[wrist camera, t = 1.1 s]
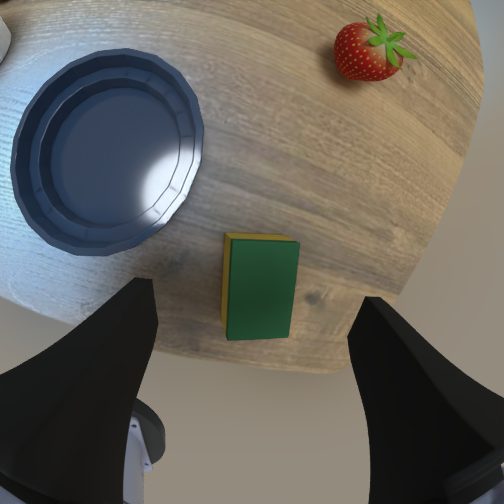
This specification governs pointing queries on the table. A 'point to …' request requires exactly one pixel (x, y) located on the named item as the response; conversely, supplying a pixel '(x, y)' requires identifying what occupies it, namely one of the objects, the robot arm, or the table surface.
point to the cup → (4, 39)
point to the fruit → (369, 51)
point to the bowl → (106, 152)
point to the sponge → (258, 285)
